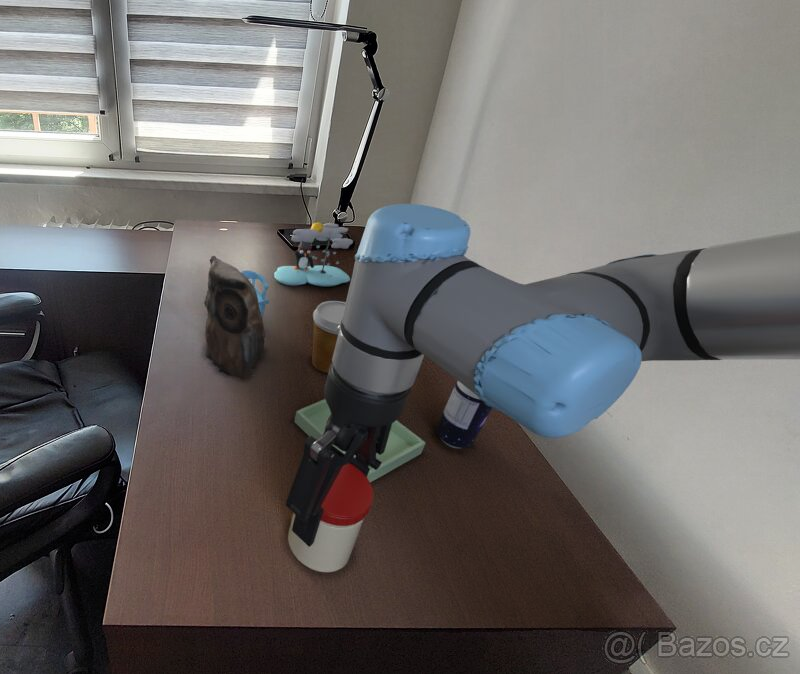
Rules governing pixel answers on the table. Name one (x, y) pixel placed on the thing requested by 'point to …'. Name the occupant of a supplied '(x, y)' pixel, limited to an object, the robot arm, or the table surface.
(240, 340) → the owl
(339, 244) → the penguin figurine
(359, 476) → the jar lid
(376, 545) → the table surface
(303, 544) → the jar
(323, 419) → the tray
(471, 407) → the beverage can
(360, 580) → the table surface
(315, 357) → the disposable coffee cup
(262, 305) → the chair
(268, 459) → the table surface
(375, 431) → the robot arm
